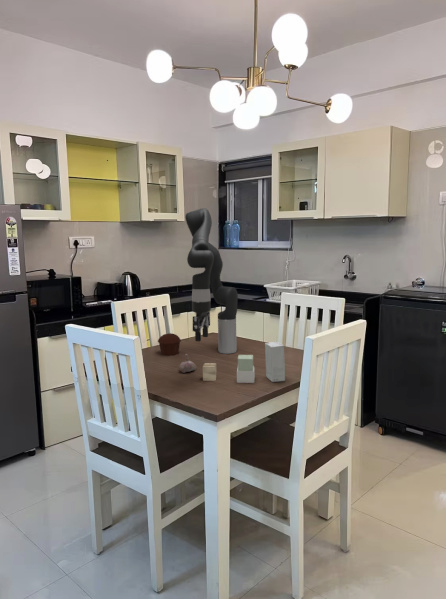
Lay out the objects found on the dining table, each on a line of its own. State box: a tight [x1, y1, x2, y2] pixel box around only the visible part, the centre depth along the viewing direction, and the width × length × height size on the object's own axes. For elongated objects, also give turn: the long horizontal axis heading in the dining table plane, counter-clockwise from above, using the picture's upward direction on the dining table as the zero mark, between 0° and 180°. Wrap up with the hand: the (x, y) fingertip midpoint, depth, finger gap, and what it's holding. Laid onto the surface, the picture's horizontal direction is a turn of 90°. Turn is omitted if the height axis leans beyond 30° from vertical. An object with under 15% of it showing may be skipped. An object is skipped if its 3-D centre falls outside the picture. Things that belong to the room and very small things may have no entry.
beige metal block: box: [202, 362, 217, 382], centre depth 188 cm, size 5×5×6 cm
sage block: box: [237, 354, 254, 371], centre depth 185 cm, size 6×6×5 cm
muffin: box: [157, 332, 182, 357], centre depth 229 cm, size 12×11×10 cm
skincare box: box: [264, 341, 286, 383], centre depth 186 cm, size 8×6×15 cm
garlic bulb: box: [178, 353, 197, 374], centre depth 199 cm, size 8×7×8 cm
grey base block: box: [236, 365, 256, 384], centre depth 186 cm, size 7×7×5 cm
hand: (201, 339), depth 185 cm, fingers open, 8 cm apart
